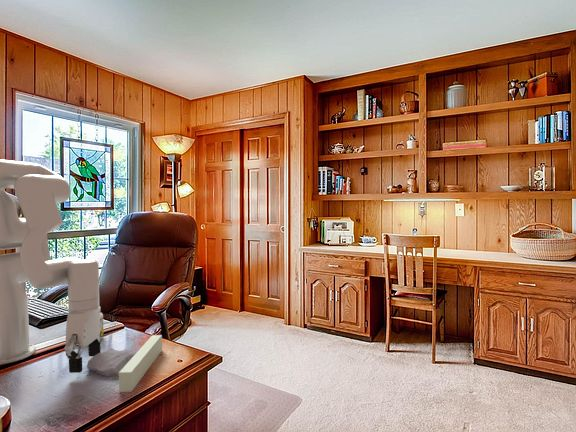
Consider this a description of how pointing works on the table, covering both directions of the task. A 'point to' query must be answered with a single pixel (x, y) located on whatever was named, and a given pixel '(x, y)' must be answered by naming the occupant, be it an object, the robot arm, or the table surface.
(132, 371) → the board
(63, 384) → the table surface
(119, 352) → the grey rock
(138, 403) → the table surface
